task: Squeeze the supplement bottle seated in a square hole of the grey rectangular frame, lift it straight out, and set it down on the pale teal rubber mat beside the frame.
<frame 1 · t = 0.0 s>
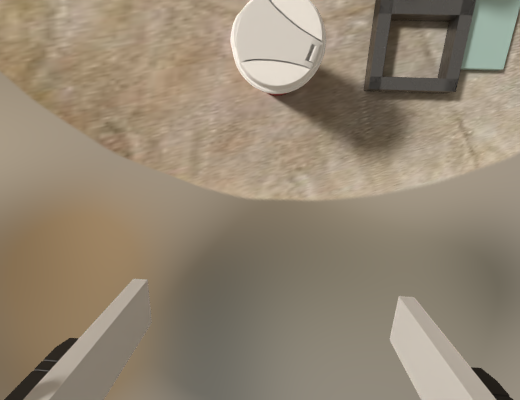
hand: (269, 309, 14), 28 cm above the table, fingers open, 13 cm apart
grey rectangular frame: (419, 6, 33), on the table
mat: (484, 35, 34), on the table
coffee cup: (276, 72, 37), on the table
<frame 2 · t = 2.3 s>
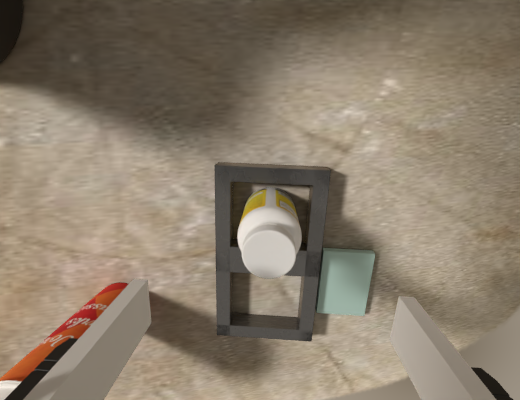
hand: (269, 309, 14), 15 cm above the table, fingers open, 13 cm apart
grey rectangular frame: (268, 252, 30), on the table
supplement bottle: (270, 210, 29), resting in grey rectangular frame
mat: (342, 280, 30), on the table
coffee cup: (124, 301, 33), on the table
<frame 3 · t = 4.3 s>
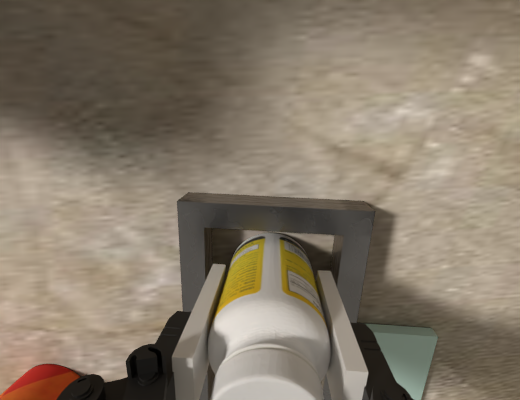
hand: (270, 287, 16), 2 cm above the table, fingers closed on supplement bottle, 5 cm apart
grey rectangular frame: (267, 328, 19), on the table
supplement bottle: (270, 265, 18), resting in grey rectangular frame, touching gripper
mat: (382, 369, 20), on the table
coffee cup: (58, 388, 23), on the table
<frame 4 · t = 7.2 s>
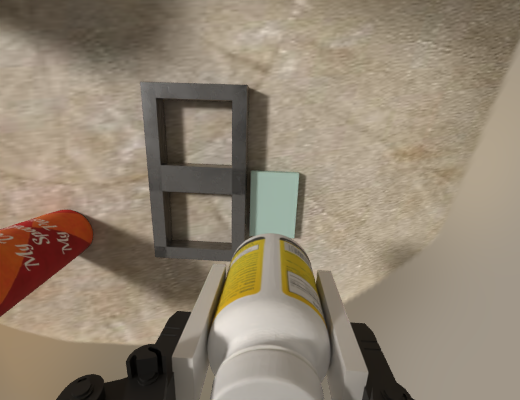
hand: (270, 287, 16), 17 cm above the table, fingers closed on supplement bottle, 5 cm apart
grey rectangular frame: (201, 176, 32), on the table
supplement bottle: (270, 266, 18), point 15 cm above the table, touching gripper
mat: (273, 203, 32), on the table
coffee cup: (71, 230, 35), on the table
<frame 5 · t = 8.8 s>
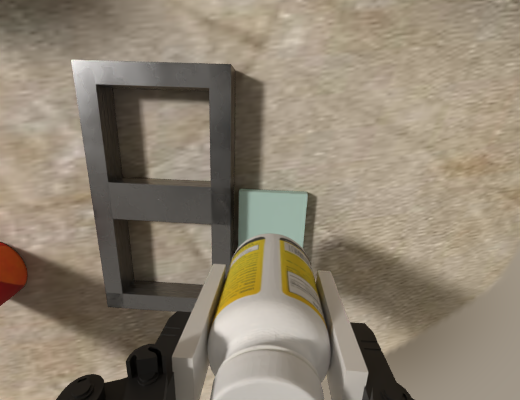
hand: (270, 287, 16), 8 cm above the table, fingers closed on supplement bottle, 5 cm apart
grey rectangular frame: (170, 196, 23), on the table
supplement bottle: (270, 266, 18), point 5 cm above the table, touching gripper
mat: (270, 234, 23), on the table
when the fingers open (5 cm above the table, at t = 10.0 s): supplement bottle drops 2 cm, resting on mat.
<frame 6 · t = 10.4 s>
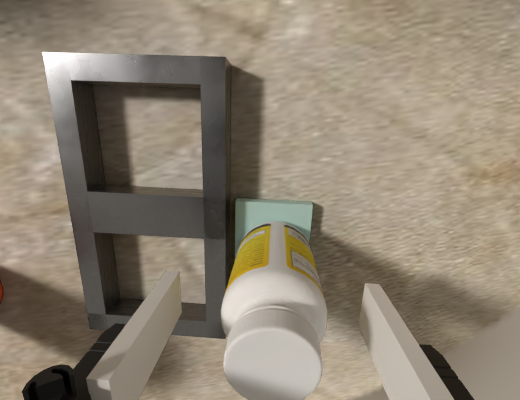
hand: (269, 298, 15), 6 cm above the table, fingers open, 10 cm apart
grey rectangular frame: (158, 206, 20), on the table
supplement bottle: (275, 252, 20), point 1 cm above the table, touching mat
mat: (271, 249, 21), on the table
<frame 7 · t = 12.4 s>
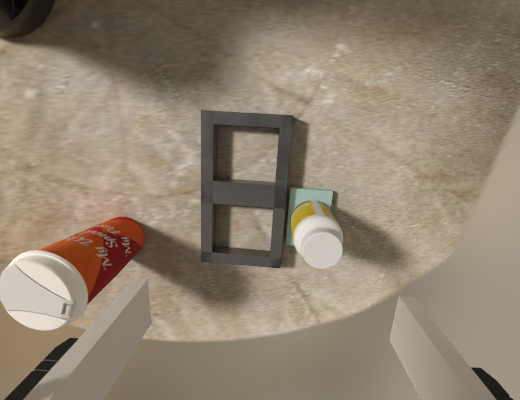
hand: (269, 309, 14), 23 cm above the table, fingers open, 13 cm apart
grey rectangular frame: (245, 191, 36), on the table
supplement bottle: (310, 218, 36), point 1 cm above the table, touching mat
mat: (307, 217, 36), on the table
coffee cup: (125, 235, 39), on the table
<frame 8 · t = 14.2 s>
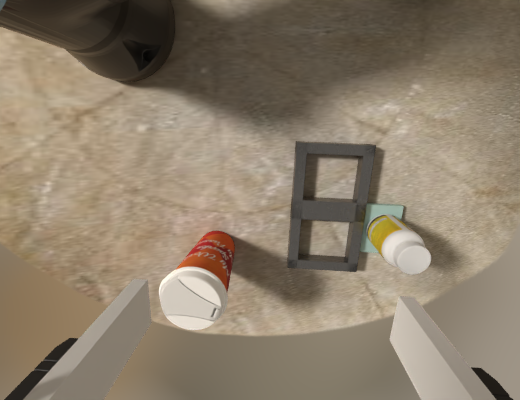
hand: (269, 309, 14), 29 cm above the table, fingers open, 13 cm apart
grey rectangular frame: (326, 207, 42), on the table
supplement bottle: (382, 228, 42), point 1 cm above the table, touching mat
mat: (379, 227, 42), on the table
coffee cup: (217, 246, 45), on the table
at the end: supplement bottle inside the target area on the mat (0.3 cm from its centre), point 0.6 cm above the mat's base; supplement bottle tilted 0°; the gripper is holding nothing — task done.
